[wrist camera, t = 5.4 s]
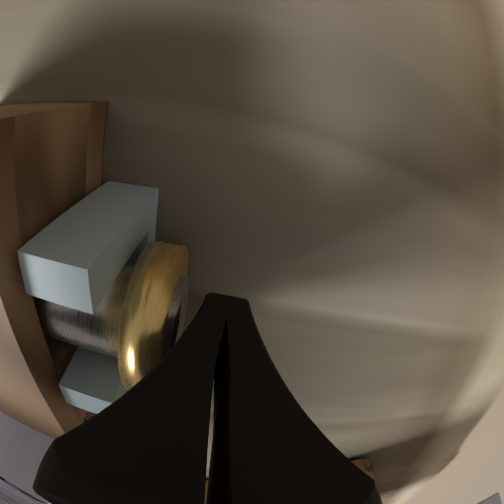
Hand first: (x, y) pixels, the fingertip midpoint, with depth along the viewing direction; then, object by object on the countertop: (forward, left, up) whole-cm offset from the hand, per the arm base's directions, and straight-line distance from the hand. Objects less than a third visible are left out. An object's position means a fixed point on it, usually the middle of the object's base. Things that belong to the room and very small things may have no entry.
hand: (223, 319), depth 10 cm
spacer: (0, +4, -2) cm, 5 cm away
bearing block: (0, +8, -2) cm, 9 cm away
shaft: (0, +6, -2) cm, 7 cm away
